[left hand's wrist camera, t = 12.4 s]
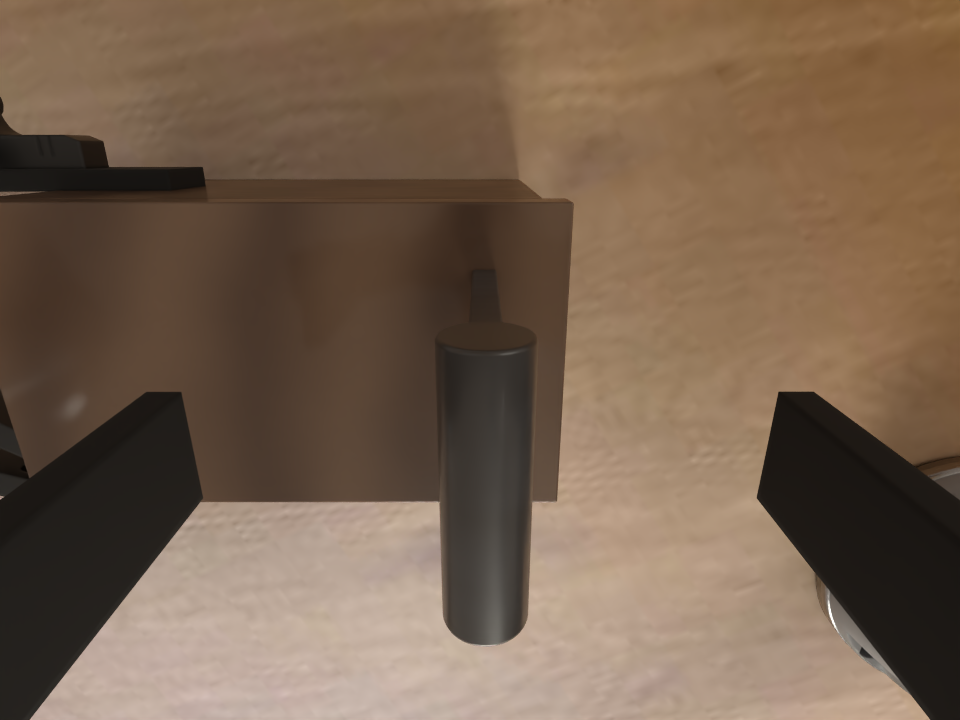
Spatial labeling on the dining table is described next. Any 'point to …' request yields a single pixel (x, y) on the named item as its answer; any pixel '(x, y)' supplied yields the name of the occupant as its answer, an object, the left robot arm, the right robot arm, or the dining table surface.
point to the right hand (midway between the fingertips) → (211, 314)
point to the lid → (312, 355)
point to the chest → (316, 190)
